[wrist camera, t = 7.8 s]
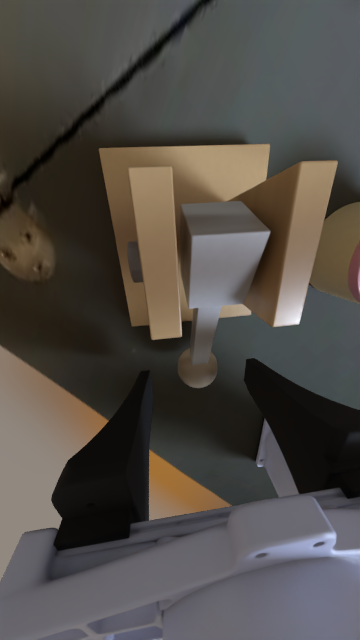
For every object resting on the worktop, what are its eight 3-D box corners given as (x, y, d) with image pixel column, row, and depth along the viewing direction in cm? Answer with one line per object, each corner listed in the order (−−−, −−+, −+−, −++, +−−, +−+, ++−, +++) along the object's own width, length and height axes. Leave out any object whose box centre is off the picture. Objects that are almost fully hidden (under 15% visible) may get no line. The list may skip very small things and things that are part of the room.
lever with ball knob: (210, 356, 16) (218, 391, 14) (175, 360, 16) (179, 396, 14) (249, 197, 7) (291, 235, 5) (167, 201, 6) (177, 242, 5)
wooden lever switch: (244, 309, 15) (331, 381, 7) (133, 320, 14) (106, 411, 7) (259, 152, 11) (489, -42, 3) (104, 157, 10) (-49, -75, 3)
